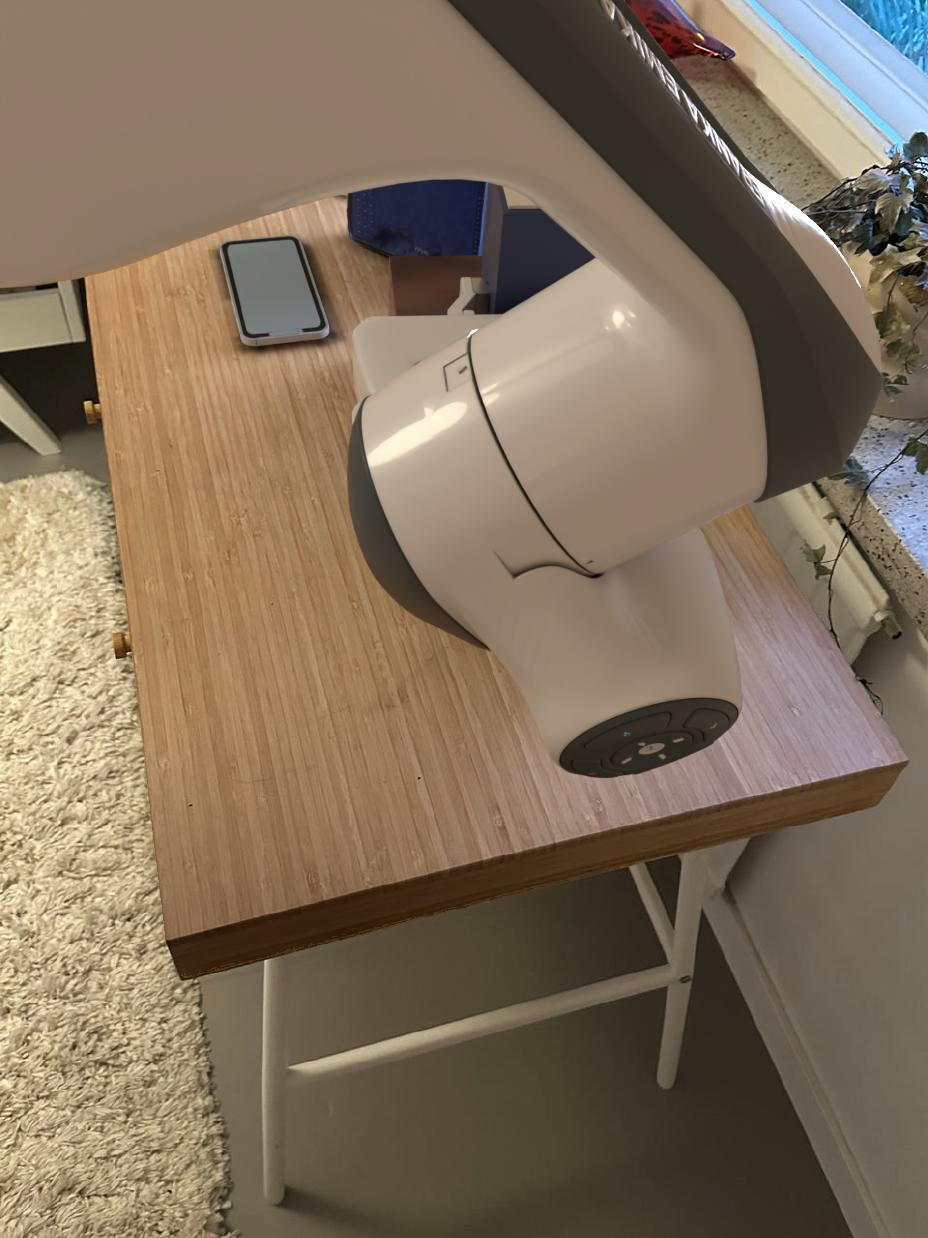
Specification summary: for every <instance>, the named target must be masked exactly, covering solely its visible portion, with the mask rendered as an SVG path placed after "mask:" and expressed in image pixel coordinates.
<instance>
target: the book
mask: <svg viewBox="0 0 928 1238" xmlns="http://www.w3.org/2000/svg"><path fill="white" fill-rule="evenodd" d="M487 194H488V182H483V181H473V180H462V179H444V180H425V181H416V182H407V183H399V184H394V185H388V186H383V187H377V188H372V189H367V190H362V191H357V192H353V193H348V196H347V198H346V199H347V200H346V216H347V217H346V218H347V219H346V220H347V232H348V238H349V239H350V240H351V241H352V242H354V243H356V244H358V245H360V246H363V247H364V248H367V249H370V250H373V251H375V252H378V253H380V254H381V255H384V256H387V257H389V256H483V246H484V233H485V220H486V207H487Z"/></svg>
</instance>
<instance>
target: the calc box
mask: <svg viewBox="0 0 928 1238" xmlns="http://www.w3.org/2000/svg"><path fill="white" fill-rule="evenodd" d="M594 258H596V257H595V256H594V255H593V254H591V253H590V252H589V251H588V250H587V249H586V248H585V247H584V246H582V245H581V244H580V243H579V242H578V241H577V240H576V239H574V238H573V237H572V236H571V235H570V234H569V233H568V232H566V231H565V230H564V229H563V228H562V227H561V226H560V225H558V224H557V223H556V222H555V221H554V220H553V219H552V218H551V217H549V216H548V215H547V214H546V213H545V212H544V211H543V210H541V209H540V208H539V207H538V206H537V205H536V204H535V203H533V202H532V201H531V200H529V199H528V198H527V197H525V196H524V195H522V194H520V193H518V192H516V191H514V190H512V189H510V188H507V187H503V186H499V185H496V184H492V183H488V194H487V207H486V220H485V233H484V246H483V259H482V272H481V277H487V280H488V285H489V289H490V301H489V305H488V308H489V313H488V315H490V314H504V313H506V312H507V311H509V310H511V309H512V308H514V307H516V306H517V305H519V304H521V303H522V302H524V301H525V300H527V299H529V298H530V297H532V296H534V295H535V294H537V293H539V292H540V291H542V290H544V289H545V288H547V287H549V286H550V285H552V284H554V283H555V282H557V281H559V280H560V279H562V278H563V277H565V276H567V275H568V274H570V273H572V272H573V271H575V270H577V269H578V268H580V267H582V266H583V265H585V264H587V263H588V262H590V261H591V260H593V259H594Z"/></svg>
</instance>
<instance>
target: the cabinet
mask: <svg viewBox="0 0 928 1238" xmlns="http://www.w3.org/2000/svg"><path fill="white" fill-rule="evenodd" d="M482 259H483V256H388V316H432V315H447V311H448V309H449V308H450V307H451V306H452V304H453V303H454V302H455V301H456V300H457V299H458V298H459V295H460V281H461V277H481V272H482Z"/></svg>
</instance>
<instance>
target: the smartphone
mask: <svg viewBox="0 0 928 1238" xmlns="http://www.w3.org/2000/svg"><path fill="white" fill-rule="evenodd" d="M218 248H219V254H220V255H219V256H220V259H221V263H222V268H223V271H224V275H225V279H226V284H227V288H228V291H229V295H230V301H231V304H232V310H233V314H234V317H235V320H236V326H237V328H238V333H239V338H240V341H241V343H243V344H244V345H246V346H249V347H259V346H260V347H261V346H270V345H277V344H279V345H280V344H285V343H295V342H303V341H313V340H320V339H321V340H322V339H324V338H326V337H327V336H328V335H329V333H330V325H329V321H328V318H327V315H326V312H325V309H324V306H323V302H322V299H321V297H320V294H319V291H318V287H317V285H316V282H315V278H314V276H313V272H312V269H311V267H310V265H309V261H308V257H307V255H306V252H305V250H304V246H303V243H302V239H300V237H299V236H297V235H292V234H284V235H273V236H264V237H261V236H260V237H252V238H241V239H230V240H229V239H228V240H225V241H223V242H221V243H220V244H219V246H218Z"/></svg>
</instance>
